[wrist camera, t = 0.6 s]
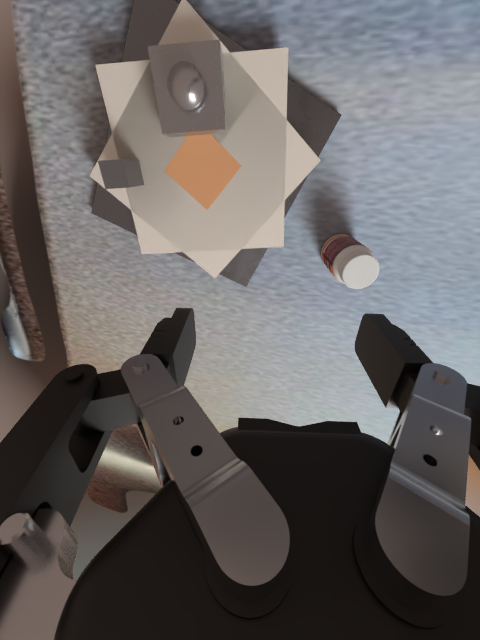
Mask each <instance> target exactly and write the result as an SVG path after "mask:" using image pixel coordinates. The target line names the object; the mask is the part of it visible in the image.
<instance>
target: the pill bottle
mask: <svg viewBox="0 0 480 640" xmlns="http://www.w3.org/2000/svg"><path fill="white" fill-rule="evenodd" d="M321 258H322V261H323V262H324V264H325V265H326V267H327V268H328V269H329V270H330V272H331V273H332V274H333V275H334V277H335V278H336V279H337V280H338V281H339V282H341V283H344V284H345V285H347V286H348V287H350V288H353V289H361V288H365V287H367V286H369V285H370V284H371V283H373V282H374V281H375V279H376V278H377V276H378V274H379V269H380V267H379V263H378V261H377V259H376V258H375V257H374V255H373V253H372V251H371V250H370V249H368V248H367V247H366V246H364V245H363V244H361V243H360V242H358V241H357V240H355V239H354V238H352V237H351V236H349V235H346V234H338V235H335V236H333V237H331V238H329V239H328V240H327V241H326V242H325V244H324V245H323V247H322V250H321Z"/></svg>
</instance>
